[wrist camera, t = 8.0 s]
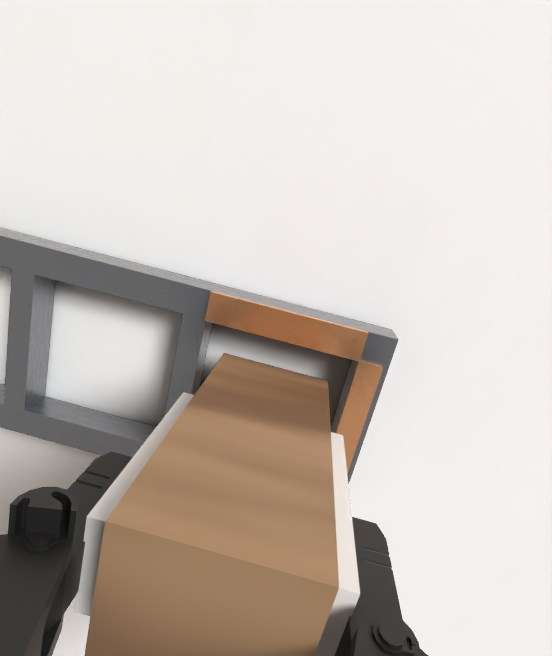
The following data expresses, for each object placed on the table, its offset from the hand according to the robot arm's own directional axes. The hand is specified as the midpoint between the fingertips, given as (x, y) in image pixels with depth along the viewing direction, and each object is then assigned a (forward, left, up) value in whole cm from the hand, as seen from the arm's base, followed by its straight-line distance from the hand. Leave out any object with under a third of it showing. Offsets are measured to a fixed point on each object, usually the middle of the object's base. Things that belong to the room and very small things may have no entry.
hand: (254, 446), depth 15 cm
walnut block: (0, 0, -3) cm, 3 cm away
